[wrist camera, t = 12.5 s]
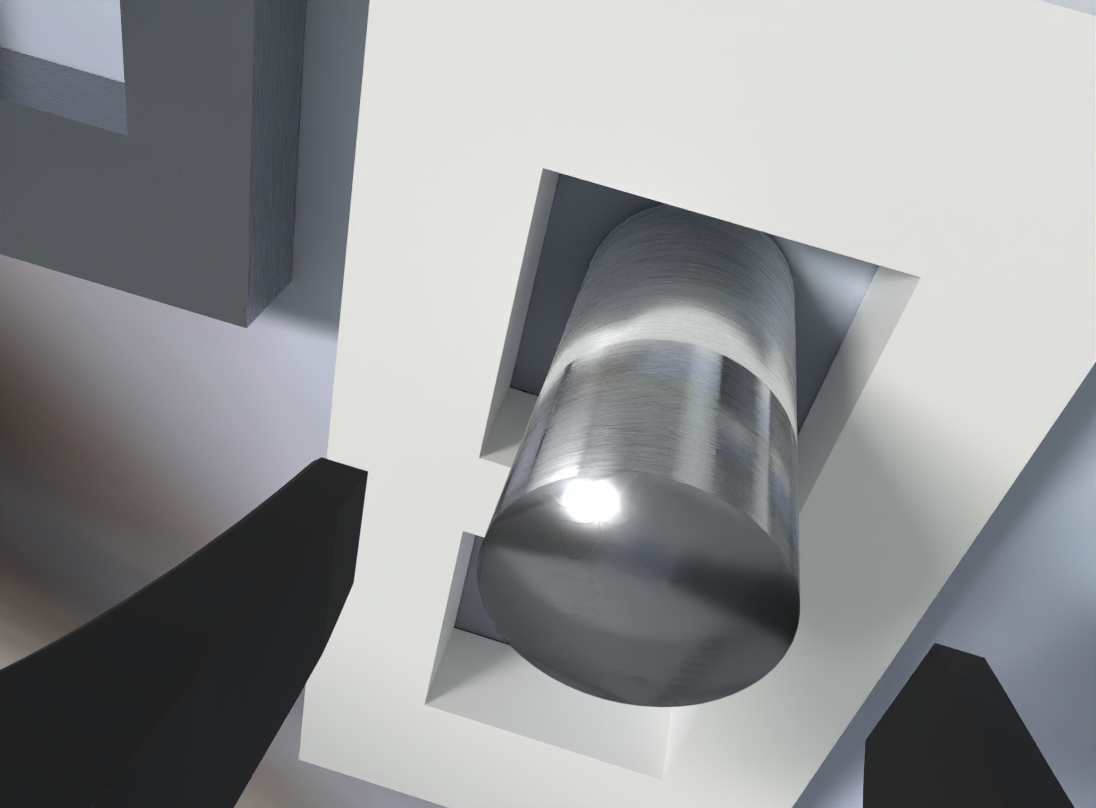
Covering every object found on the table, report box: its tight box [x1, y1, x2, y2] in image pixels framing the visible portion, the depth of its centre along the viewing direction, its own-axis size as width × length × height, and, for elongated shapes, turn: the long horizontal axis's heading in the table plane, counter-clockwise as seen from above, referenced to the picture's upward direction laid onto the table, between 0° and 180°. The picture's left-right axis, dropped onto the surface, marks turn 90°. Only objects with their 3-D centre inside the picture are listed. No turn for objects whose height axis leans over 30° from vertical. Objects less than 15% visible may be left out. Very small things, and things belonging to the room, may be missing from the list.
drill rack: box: [299, 0, 1096, 808], centre depth 20 cm, size 22×12×2 cm, turn 168°
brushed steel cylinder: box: [477, 204, 800, 707], centre depth 15 cm, size 4×4×8 cm
